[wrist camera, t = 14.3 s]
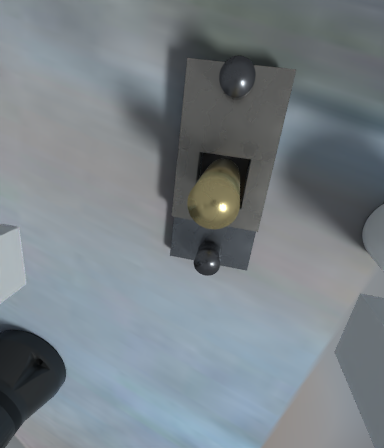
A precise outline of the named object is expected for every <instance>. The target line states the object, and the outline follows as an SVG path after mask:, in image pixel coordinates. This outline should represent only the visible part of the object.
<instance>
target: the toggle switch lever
mask: <svg viewBox="0 0 384 448" xmlns="http://www.w3.org/2000/svg"><path fill="white" fill-rule="evenodd" d="M187 207H188V211H189V214H190V216H191V217H192V219H193V220H194V221H195V222H196V223H197V224H199V225H200V226H202V227H204V228H207V229H221V228H224V227H226V226H228V225H229V224H231V223H232V222H233V221H234V220H235V219H236V217H237V215H238V213H239V209H240V171H239V168H238V167H237V165H236V164H235V163H234V162H233V161H231V160H229V159H218V160H215V161H214V162H212V163H211V164H210V165H209V167H208V168H207V169H206V171H205V172H204V173H203V175H202V176H201V178H200V179H199V180H198V182H197V183H196V184H195V186H194V187H193V188H192V190H191V191H190V193H189V196H188V200H187Z"/></svg>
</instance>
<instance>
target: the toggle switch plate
mask: <svg viewBox="0 0 384 448" xmlns="http://www.w3.org/2000/svg"><path fill="white" fill-rule="evenodd" d="M295 73H296V69H287V68H277V67H268V66H258V65H253V63H252V62H251V61H250V60H249V59H248V58H246V57H244V56H234V57H231V58H230V59H228V60H227V61H226V62H221V61H211V60H202V59H193V58H187V66H186V76H185V86H184V96H183V107H182V117H181V127H180V137H179V147H178V157H177V167H176V177H175V187H174V197H173V207H172V217H174V222H173V232H172V242H171V251H170V256H176V257H181V258H186V259H191V260H194V267H195V269H196V270H197V271H198V272H199V273H200V274H203V275H213V274H215V273H216V272H217V271H218V270H219V267H220V265H222V266H227V267H232V268H237V269H242V270H247V267H248V263H249V259H250V255H251V250H252V246H253V242H254V237H255V233H256V232H258V229H259V224H260V220H261V216H262V212H263V208H264V203H265V199H266V195H267V191H268V186H269V182H270V178H271V174H272V170H273V165H274V161H275V157H276V153H277V149H278V144H279V140H280V136H281V132H282V128H283V123H284V119H285V115H286V111H287V106H288V102H289V98H290V94H291V90H292V85H293V81H294V77H295ZM203 152H204V153H211V154H218V155H225V156H231V157H238V158H245V159H250V160H249V165H248V170H247V175H246V180H245V185H244V190H243V195H242V200H241V201H240V209H239V213H238V215H237V217H236V219H235V220H234V221H233V222H232V223H231V224H229V225H228V226H226V227H224V228H221V229H207V228H204V227H202V226H200V225H199V224H197V223H196V222H195V221H194V220H193V219H192V217H191V216H190V214H189V211H188V207H187V200H188V196H189V193H190V191H191V190H192V188H193V187H194V186H195V184H196V183H197V182H198V180H199V178H200V170H201V163H202V156H203Z"/></svg>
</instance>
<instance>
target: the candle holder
mask: <svg viewBox="0 0 384 448" xmlns="http://www.w3.org/2000/svg"><path fill="white" fill-rule="evenodd" d="M362 239H363V244H364V246H365V248H366V250H367V252H368V253H369V254H370V256H371V257H372V258H373V260H374V261H375V262H376V263H377V265H378V266H379V267H380V268H381V270H382V271H383V272H384V204H382V205H381V206H379V207H378V208H377V209H376V210H375V211H374V212H373V213H372V214H371V215H370V216H369V218H368V219H367V221H366V223H365V225H364V228H363V233H362Z"/></svg>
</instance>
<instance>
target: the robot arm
mask: <svg viewBox="0 0 384 448" xmlns="http://www.w3.org/2000/svg"><path fill="white" fill-rule="evenodd" d="M26 284H27V283H26V275H25V268H24V260H23V253H22V245H21V237H20V230H19V227H17V226H11V225H6V224H0V304H1V303H2V302H3V301H5V300H6V299H7V298H9V297H10V296H11V295H13V294H14V293H15V292H17V291H18V290H19V289H21V288H22V287H23V286H25V285H26ZM335 354H336V357H337V359H338V361H339V364H340V366H341V369H342V371H343V373H344V376H345V378H346V381H347V383H348V385H349V388H350V390H351V392H352V395H353V397H354V399H355V402H356V404H357V407H358V409H359V411H360V414H361V416H362V419H363V421H364V423H365V426H366V428H367V431H368V433H369V435H370V438H371V440H372V442H373V445H374V447H375V448H384V298H381V297H375V296H370V295H365V294H360V295H359V297H358V300H357V302H356V304H355V307H354V309H353V311H352V313H351V316H350V318H349V320H348V323H347V325H346V327H345V330H344V332H343V334H342V336H341V338H340V341H339V343H338V345H337V347H336V350H335ZM65 377H66V370H65V366H64V363H63V361H62V359H61V358H60V356H59V355H58V353H57V352H56V351H55V350H54V349H53V348H52V347H51V346H50V345H49V344H48V343H46V342H45V341H44V340H42V339H40V338H39V337H37V336H35V335H33V334H30V333H27V332H24V331H18V330H9V331H4V332H2V333H0V448H5V447H6V446H7V444H8V443H9V441H10V440H11V438H12V437H13V436H14V434H15V433H16V432H17V430H18V429H19V428H20V426H21V425H22V424H23V422H24V421H25V420H26V419H28V418H29V417H30V416H31V415H32V414H33V413H35V412H36V411H37V410H38V409H39V408H41V407H42V406H43V405H44V404H45V403H46V402H47V401H48V400H50V399H51V398H52V397H53V396H54V395H55V394H56V393H57V392H58V390H59V389H60V387H61V386H62V384H63V383H64V381H65Z"/></svg>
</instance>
